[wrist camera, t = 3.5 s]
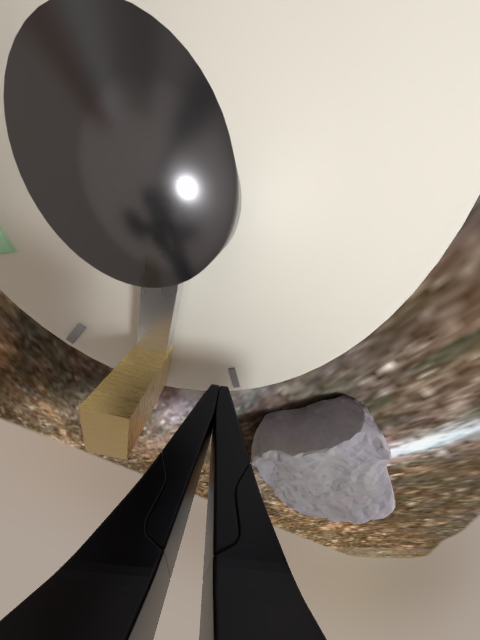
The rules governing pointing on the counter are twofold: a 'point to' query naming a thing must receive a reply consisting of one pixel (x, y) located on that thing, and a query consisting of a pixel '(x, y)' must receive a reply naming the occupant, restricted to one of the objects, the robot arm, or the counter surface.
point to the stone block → (326, 460)
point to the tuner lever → (122, 176)
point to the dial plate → (286, 185)
